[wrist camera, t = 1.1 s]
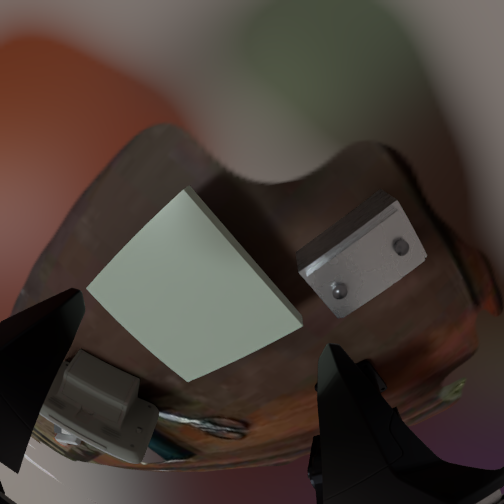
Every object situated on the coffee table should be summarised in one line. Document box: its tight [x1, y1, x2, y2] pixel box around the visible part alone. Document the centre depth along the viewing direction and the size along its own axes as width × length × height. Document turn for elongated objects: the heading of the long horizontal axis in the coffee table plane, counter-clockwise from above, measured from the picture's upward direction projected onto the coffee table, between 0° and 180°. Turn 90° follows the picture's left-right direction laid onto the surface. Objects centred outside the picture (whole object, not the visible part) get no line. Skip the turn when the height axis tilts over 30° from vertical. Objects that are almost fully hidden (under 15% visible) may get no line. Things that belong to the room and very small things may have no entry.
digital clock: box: [39, 349, 159, 464], centre depth 26 cm, size 16×9×11 cm, turn 57°
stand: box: [86, 185, 303, 382], centre depth 21 cm, size 12×12×4 cm
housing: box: [296, 189, 427, 318], centre depth 19 cm, size 5×8×4 cm, turn 131°
